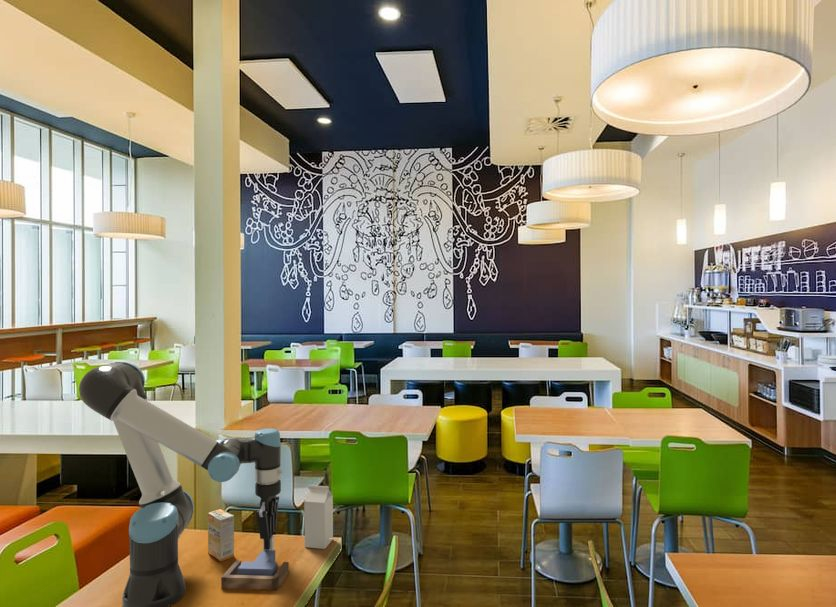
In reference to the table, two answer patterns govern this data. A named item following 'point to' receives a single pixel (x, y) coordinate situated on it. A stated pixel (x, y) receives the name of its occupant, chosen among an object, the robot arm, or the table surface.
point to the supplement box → (221, 534)
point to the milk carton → (318, 517)
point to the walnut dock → (253, 578)
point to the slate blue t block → (260, 565)
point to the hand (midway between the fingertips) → (268, 557)
